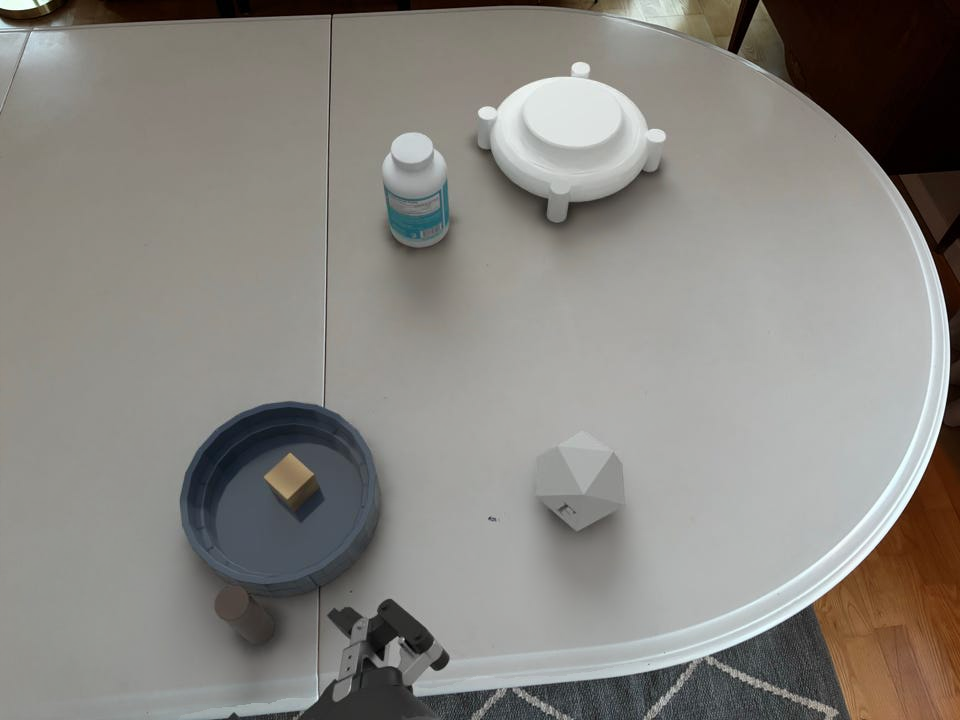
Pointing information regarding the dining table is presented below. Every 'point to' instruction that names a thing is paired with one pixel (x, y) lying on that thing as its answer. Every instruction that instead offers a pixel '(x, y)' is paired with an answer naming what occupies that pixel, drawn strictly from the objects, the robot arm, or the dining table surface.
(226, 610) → the brown cylinder
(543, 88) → the round stand with pegs
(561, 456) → the die
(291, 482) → the block
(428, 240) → the pill bottle
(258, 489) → the bowl
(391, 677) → the robot arm
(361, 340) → the dining table surface
